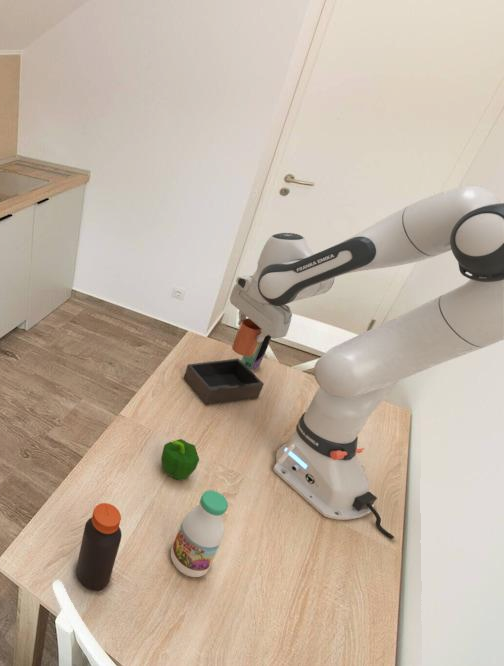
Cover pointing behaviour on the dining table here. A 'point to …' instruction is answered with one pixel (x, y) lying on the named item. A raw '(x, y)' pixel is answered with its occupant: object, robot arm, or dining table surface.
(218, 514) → the milk bottle
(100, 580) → the vinegar
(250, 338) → the cup
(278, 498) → the dining table surface
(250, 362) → the spray can
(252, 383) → the dark open tray
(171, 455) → the bell pepper
